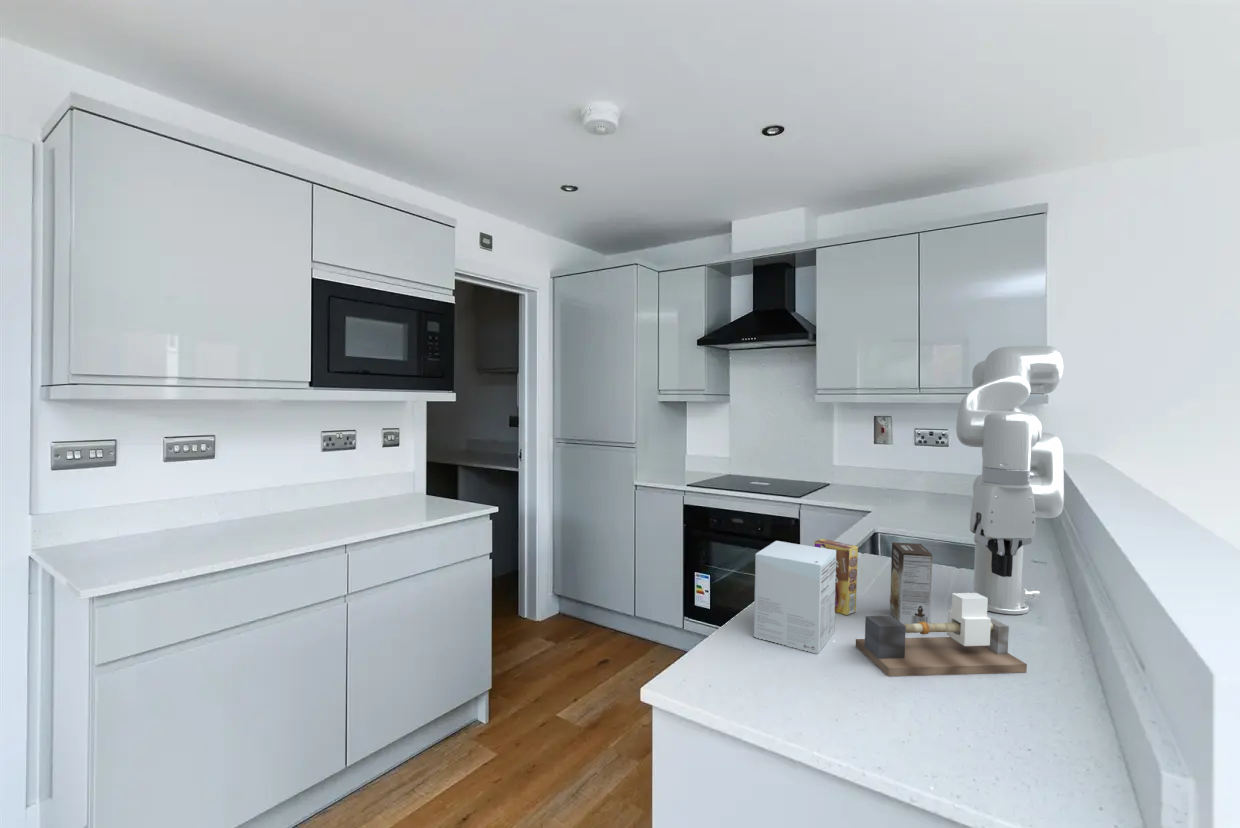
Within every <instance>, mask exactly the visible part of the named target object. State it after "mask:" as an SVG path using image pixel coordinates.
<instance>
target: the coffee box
mask: <svg viewBox="0 0 1240 828" xmlns="http://www.w3.org/2000/svg"><path fill="white" fill-rule="evenodd" d="M933 558H934V557H933V553H931V552H930V551H929V550H928V549H927V548H926V547H925V546H924V544H922V543H914V542H912V543H911V542H909V543H908V542H891V565H890V570H891V571H890V596H889V597H890V598H889V599H890V600H889V610H890V612H891V614H892V615H893V617H894V618H895V619H896V620H898V621H899V622H901V623H902V624H918V622H926V623H931V622H930V621H931V620H930V618H931V598H932V577H933V576H932V575H933Z"/></svg>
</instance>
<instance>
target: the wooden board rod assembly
mask: <svg viewBox="0 0 1240 828" xmlns="http://www.w3.org/2000/svg"><path fill="white" fill-rule="evenodd" d="M989 618H990V619H991V629H990V645H987V646H963V645H962V644H960V643H959V642H957V641H956V640H954V639H953V638H951V637H950V636H935V637H933V636H931V637H930V636H929V637H906V634H912V633H914V634H917V633H919V634H920V635H928V634H930V633H947V632H960V630H961V623H947V622H936V623H935V622H930V623H926V622H918V624H902V623H901V622H899V621H898V620H896V619H895V617H894V616H892V615H890V614H889V615H866V616H865V619H864V620H865V622H864V624H865V625H864V626H865V627H864V630H865V631H864V638H855V647H856V649H858V650H859V652H861V653H862V654H863V655H864V656H865V657H867V659H868V660H870V662H872V663H873V664H874V665H875V666H877V668H878V669H880V670H881V671H882V672H883V673H885V675H887V676H888V677H909V676H910V677H914V676H915V677H916V676H946V675H947V676H948V675H980V674H981V675H982V674H1013V673H1014V674H1018V673H1020V674H1021V673H1027V670H1028V669H1027V668H1028V667H1027V666H1028V665H1027V662H1024V661H1022V660H1021V659H1019V658H1017V657H1015V656H1014V655H1012V654H1010V652H1009V631H1010V630H1009V629H1010V626H1009V625H1007V624H1005V623H1004V622H1002V621H1000V620H998V619H996V618H994V617H989Z"/></svg>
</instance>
